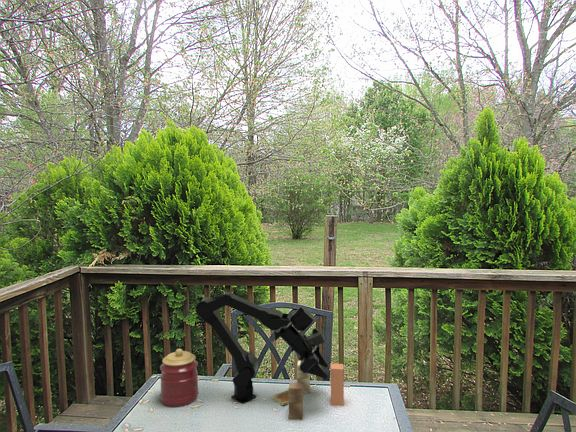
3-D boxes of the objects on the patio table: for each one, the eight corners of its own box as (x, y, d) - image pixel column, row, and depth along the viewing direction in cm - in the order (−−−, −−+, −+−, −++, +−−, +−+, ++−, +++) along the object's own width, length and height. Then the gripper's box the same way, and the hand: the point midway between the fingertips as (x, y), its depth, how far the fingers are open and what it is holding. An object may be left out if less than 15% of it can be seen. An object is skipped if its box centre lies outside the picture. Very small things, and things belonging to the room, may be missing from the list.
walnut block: (288, 419, 124) (288, 388, 124) (290, 412, 129) (290, 382, 128) (302, 420, 124) (302, 388, 123) (303, 412, 128) (303, 382, 128)
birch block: (297, 392, 142) (297, 365, 142) (298, 387, 146) (298, 360, 146) (309, 393, 142) (309, 365, 141) (309, 387, 146) (309, 361, 146)
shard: (296, 391, 144) (296, 386, 144) (309, 399, 138) (309, 394, 138) (271, 400, 138) (271, 395, 137) (284, 409, 131) (284, 403, 131)
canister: (192, 407, 132) (192, 356, 131) (154, 407, 132) (154, 355, 132) (202, 389, 145) (201, 342, 144) (167, 389, 145) (167, 342, 145)
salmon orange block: (330, 405, 133) (330, 368, 133) (330, 398, 137) (330, 363, 137) (343, 405, 132) (343, 369, 132) (343, 399, 137) (343, 364, 136)
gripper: (309, 332, 126) (344, 367, 125) (312, 316, 144) (342, 346, 143) (285, 355, 127) (320, 390, 126) (291, 337, 146) (321, 367, 145)
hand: (327, 372), depth 135 cm, fingers open, 9 cm apart
